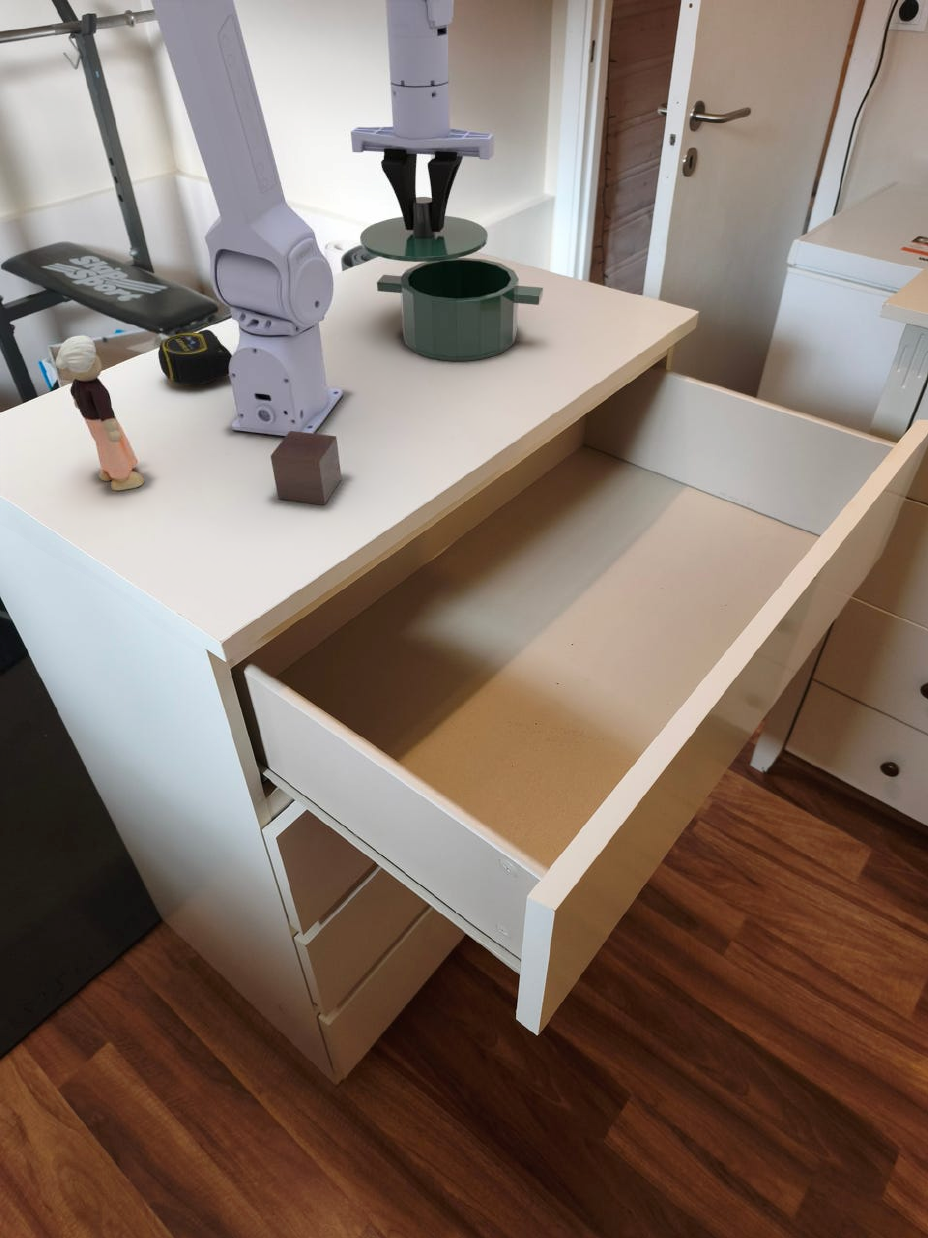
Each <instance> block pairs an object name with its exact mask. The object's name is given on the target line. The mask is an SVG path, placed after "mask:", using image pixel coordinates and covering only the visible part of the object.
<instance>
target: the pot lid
mask: <svg viewBox="0 0 928 1238" xmlns="http://www.w3.org/2000/svg"><path fill="white" fill-rule="evenodd" d="M411 206H412V228H413V230H406V227H405V222H404V218H403V216H399V217H393V218H388V219H385V220H381V221H378V222H375V223H373V224H371V225H369V226H368V227H366V228H365V229H364V230H363V231H362V232H361V233H360V236H359V241H360V246H361V248H363V250H364V251H366V252H368V253H369V254H371V255H374V256H376V257H379V258H383V259H386V260H392V261H398V262H400V261H401V262H411V263H424V262H433V261H443V260H450V259H455V258H464V257H466V256H469V255H471V254H474V253H477V252H478V251H480V250H481V249H483V248H484V247H485V246H486V245H487V243H488V239H489V237H488V235H489V234H488V231H487V230H486V228H485V227H483V226H482V225H481V224H479V223H478V222H475V221H472V220H469V219H466V218H462V217H458V216H457V217H456V216H451V215H445V219H444V227H443V228H442V230H441V231H440V232H433V229H432V197H428V196H416V198H414V199H412V200H411Z"/></svg>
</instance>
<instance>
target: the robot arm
mask: <svg viewBox="0 0 928 1238" xmlns="http://www.w3.org/2000/svg"><path fill="white" fill-rule="evenodd" d="M454 2H455V1H454V0H385V10H386V28H387V45H388V47H387V48H388V63H389V64H388V65H389V77H390V78H389V80H390V100H391V116H392V117H391V118H392V126H368V127H367V126H357V127H354V129H352V130H350V141H351V150H352V151H351V152H352V153H363V152H376V153H377V152H378V153H383V159H382V160H381V161H380V165H381V170H382V172H383V173H384V175H385V177H386V178H387V181H388V182H389V183H390V186H391V188H392V190H393V192H394V194H395V197H396V199H397V202H398V205H399V209H400V210H401V214H402V217H403V218H404V222H405V227H406V230H413V228H412V206H411V200H412V199H414V198H417V189H416V188H417V187H416V186H417V182H416V181H417V180H416V179H417V161H418V160H417V159H418V155H428V156H429V155H431V156H434V157H433V158H431V159H430V161H428V162H427V171H428V178H429V184H430V193H431V198H432V229H433V232H440V231H441V230H442V228H443V227H444V219H445V216H446V211H447V207H448V202H449V198H450V194H451V191H452V188H453V184H454V181H455V179H456V176H457V173H458V171H459V170H460V169H459V168H460V167H461V164H462V162H463V158H464V157H467V158H478V159H479V160H486V161H489V160H490V159H491V158H492V157H493V156H494V148H495V147H494V146H495V145H494V144H495V143H494V141H495V139H494V138H495V137H494V136H495V135H494V133H487V132H486V133H485V132H477V131H471V130H464V129H457V128H452V127H450V126H451V125H450V124H451V123H450V69H449V68H450V67H449V65H450V63H449V61H450V60H449V25H451V24H452V23H453V17H454V16H455V15H454V14H455V13H454V10H455V9H454V8H455V7H454V5H455V3H454ZM150 3H151V5H152V8H153V12H154V14H155V18H156V21H157V24H158V27H159V30H160V33H161V36H162V40H163V42H164V43H163V44H164V46H165V48H166V52H167V56H168V58H169V61H170V64H171V68H172V70H173V73H174V74H173V75H174V77H175V80H176V83H177V86H178V89H179V92H180V95H181V98H182V101H183V105H184V108H185V111H186V114H187V117H188V120H189V123H190V126H191V129H192V132H193V136H194V138H195V142H196V145H197V147H198V150H199V154H200V156H201V157H200V158H201V159H202V160H201V161H202V163H203V167H204V169H205V172H206V175H207V178H208V182H209V184H210V188H211V190H212V194H213V197H214V200H215V203H216V207H217V210H218V212H219V216H218V217H217V218H216V220H215V221H214V222H213V223H212V224H211V226H210V227H209V228H208V230H207V232H206V234H205V235H204V240H205V244H206V246H207V251H208V254H209V275H210V277H209V278H210V283H211V287H212V290H213V292H214V294H215V296H216V298H217V299H218V300H219V301H220V302H221V303H222V304H223V305H224V306H227V307H228V308H229V311H230V315H231V319H232V320H233V321H235V322H236V323H237V324H238V332H239V338H238V344H237V347H236V348H235V351H234V352H233V354H232V357H231V360H230V363H229V374H228V376H229V380H230V384H231V385H230V386H231V389H232V394H233V399H234V404H235V408H236V414H237V417H236V418H235V419H234V420H233V422H232V423H231V425H230V426H231V429H232V430H234V431H240V432H249V433H257V434H264V435H266V434H267V435H274V436H282V437H286V435H287V434H288V433H289V432H290V431H296V432H305V433H313V434H315V432H316V431H317V429H318V428H319V427H320V426H321V424H322V423H323V422H324V420H325V419H326V417H327V416H328V414H329V413H330V412H331V411H332V410H333V408H334V407H335V405H336V404H337V403H338V402H339V400H340V399H341V397H342V396H343V394H344V391H343V389H342V388H339V387H329V386H327V378H326V368H325V360H324V353H323V345H322V338H321V329H320V322H322V321H324V320H325V316H326V314H327V313H328V311H329V308H330V306H331V304H332V301H333V296H334V276H333V271H332V267H331V265H330V263H329V261H328V259H327V258H326V257H325V256H324V254H323V253H322V251H321V250H320V247H319V245H318V241H317V237H316V232H315V231H314V229H313V228H311V226H310V225H309V224H308V223H307V222H306V221H305V220H304V219H303V218H302V217H301V216H300V215H298V214H297V212H296V211H295V210H294V209H292V207H291V206H290V205H289V204H288V203H287V202H286V197H285V193H284V189H283V186H282V182H281V178H280V174H279V171H278V167H277V166H278V165H277V162H276V158H275V155H274V151H273V147H272V144H271V140H270V136H269V132H268V128H267V125H266V121H265V117H264V113H263V110H262V104H261V102H260V97H259V93H258V90H257V86H256V82H255V78H254V75H253V71H252V67H251V63H250V60H249V56H248V52H247V51H248V50H247V48H246V44H245V40H244V36H243V32H242V29H241V25H240V21H239V17H238V13H237V10H236V6H235V2H234V0H150Z"/></svg>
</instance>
